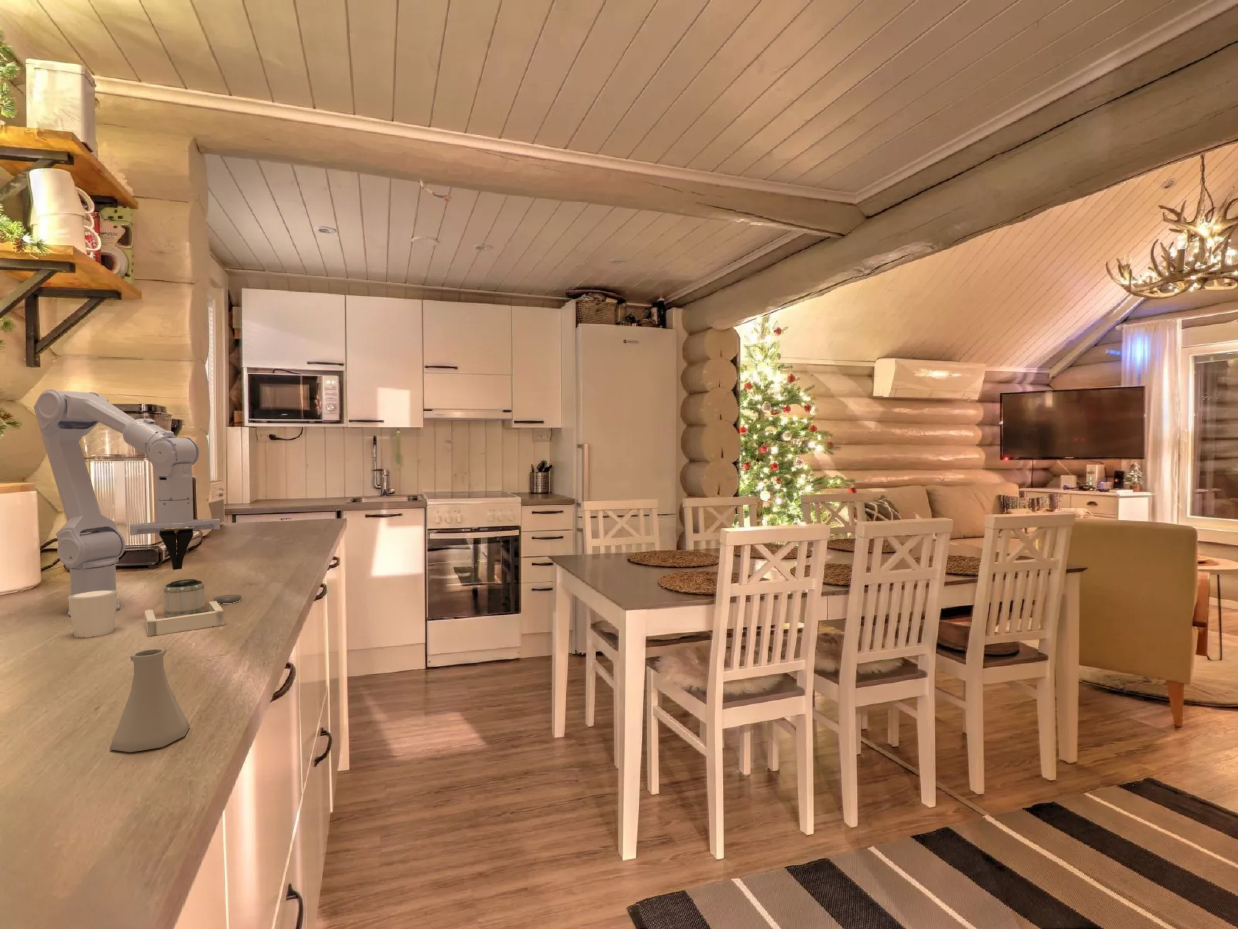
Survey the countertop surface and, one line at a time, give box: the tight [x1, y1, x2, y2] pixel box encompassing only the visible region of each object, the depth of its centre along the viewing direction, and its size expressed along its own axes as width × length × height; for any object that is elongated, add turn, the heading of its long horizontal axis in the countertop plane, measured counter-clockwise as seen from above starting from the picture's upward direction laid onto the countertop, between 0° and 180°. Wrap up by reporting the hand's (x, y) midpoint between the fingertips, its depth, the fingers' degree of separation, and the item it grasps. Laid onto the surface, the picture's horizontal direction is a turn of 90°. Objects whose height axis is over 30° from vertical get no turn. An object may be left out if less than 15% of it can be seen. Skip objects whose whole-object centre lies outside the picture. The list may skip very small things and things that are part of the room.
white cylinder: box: [67, 589, 118, 638], centre depth 117 cm, size 7×7×7 cm
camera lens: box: [163, 578, 206, 618], centre depth 123 cm, size 6×6×8 cm
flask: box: [109, 647, 191, 753], centre depth 75 cm, size 7×7×10 cm
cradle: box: [144, 600, 225, 637], centre depth 122 cm, size 10×11×2 cm
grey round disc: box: [213, 594, 242, 604], centre depth 140 cm, size 5×5×1 cm
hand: (177, 568), depth 130 cm, fingers closed
